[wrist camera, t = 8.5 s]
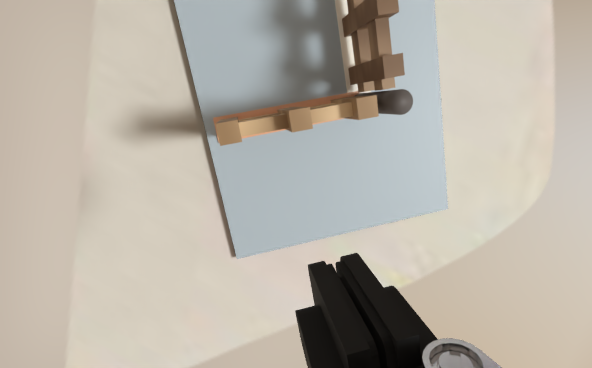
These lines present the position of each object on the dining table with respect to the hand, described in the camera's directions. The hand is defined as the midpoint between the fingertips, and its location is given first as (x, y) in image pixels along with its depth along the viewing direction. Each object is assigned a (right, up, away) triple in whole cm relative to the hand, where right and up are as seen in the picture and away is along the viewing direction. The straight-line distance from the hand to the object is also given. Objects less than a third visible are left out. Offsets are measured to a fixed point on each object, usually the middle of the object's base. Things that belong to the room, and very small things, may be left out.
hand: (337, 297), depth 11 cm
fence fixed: (+3, +14, +13) cm, 20 cm away
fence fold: (-2, +8, +13) cm, 16 cm away
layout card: (+1, +9, +14) cm, 17 cm away
